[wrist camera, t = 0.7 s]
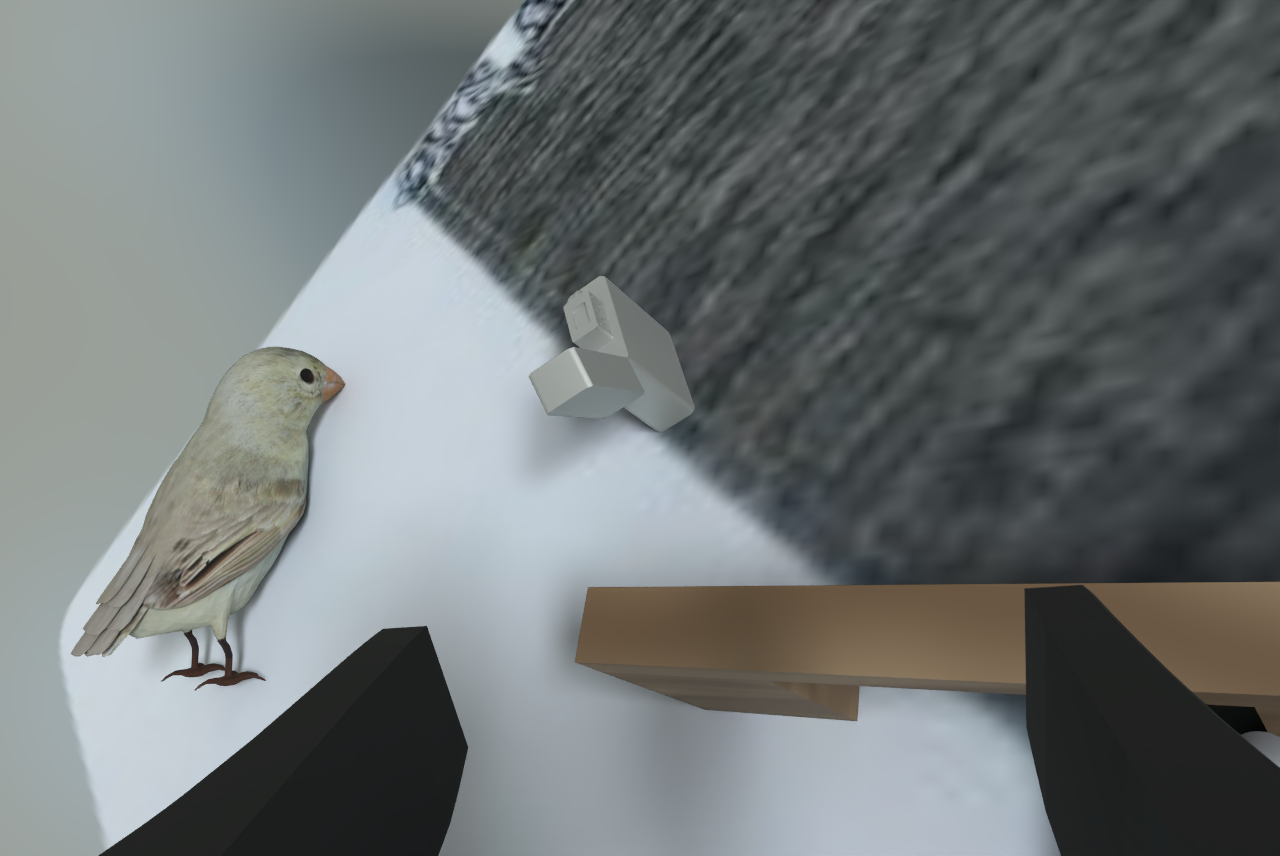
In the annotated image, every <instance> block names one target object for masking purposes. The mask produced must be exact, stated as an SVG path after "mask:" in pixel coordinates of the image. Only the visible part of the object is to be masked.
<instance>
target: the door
mask: <svg viewBox="0 0 1280 856" xmlns="http://www.w3.org/2000/svg"><path fill="white" fill-rule="evenodd" d="M1241 736H1242V737H1243V738H1245V739H1246V740H1247V741H1248V742H1249V743H1250V744H1252V745H1253V746H1254V747H1255V748H1256V749H1258V750H1259V751H1260V752H1261V753H1263V754H1264V755H1265V756H1266V757H1267V758H1269V759H1270V760H1271V761H1272V762H1274V763H1275V764H1276V765H1277V766H1278V767H1280V737H1278V736H1276V735H1274V734H1271V733H1267V732H1261V731H1253V732H1248V733H1244V734H1242V735H1241Z"/></svg>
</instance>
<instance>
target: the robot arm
mask: <svg viewBox="0 0 1280 856" xmlns="http://www.w3.org/2000/svg"><path fill="white" fill-rule="evenodd" d="M1024 594H1025V657H1026V721H1027V731H1028V736H1029V740H1030V745H1031V749H1032V754H1033V758H1034V763H1035V767H1036V772H1037V776H1038V780H1039V784H1040V789H1041V793H1042V797H1043V801H1044V805H1045V810H1046V813H1047V816H1048V819H1049V822H1050V825H1051V828H1052V831H1053V833H1054V836H1055V839H1056V842H1057V845H1058V848H1059V850H1060V853H1061V856H1280V767H1278V766H1277V765H1276V764H1275V763H1274V762H1272V761H1271V760H1270V759H1269V758H1267V757H1266V756H1265V755H1264V754H1263V753H1261V752H1260V751H1259V750H1258V749H1256V748H1255V747H1254V746H1253V745H1252V744H1250V743H1249V742H1248V741H1247V740H1246V739H1245V738H1243V737H1242V736H1241V735H1240V734H1239V733H1238V732H1236V731H1235V730H1234V729H1233V728H1232V727H1231V726H1229V725H1228V724H1227V723H1226V722H1225V721H1224V720H1223V719H1221V718H1220V717H1219V716H1218V715H1217V714H1216V713H1215V712H1214V711H1213V710H1212V709H1210V708H1209V707H1208V706H1207V705H1206V704H1205V703H1204V702H1203V701H1202V700H1201V699H1199V698H1198V697H1197V696H1196V695H1195V694H1194V693H1193V692H1192V691H1191V690H1190V689H1188V688H1187V687H1186V686H1185V685H1184V684H1183V683H1182V682H1181V681H1180V680H1179V679H1178V678H1177V677H1175V676H1174V675H1173V674H1172V673H1171V672H1170V671H1169V670H1168V669H1167V668H1166V667H1165V666H1164V665H1163V664H1162V663H1161V662H1160V661H1159V660H1158V659H1157V658H1156V657H1155V656H1154V655H1153V654H1152V653H1151V652H1150V651H1149V650H1148V649H1147V648H1146V647H1145V646H1144V645H1143V644H1142V643H1141V642H1140V641H1139V640H1138V639H1137V638H1136V637H1135V636H1134V635H1133V634H1132V633H1131V632H1130V631H1129V630H1128V629H1127V628H1126V627H1125V626H1124V625H1123V624H1122V623H1121V622H1120V621H1119V620H1118V619H1117V618H1116V617H1115V616H1114V615H1113V614H1112V613H1111V612H1110V611H1109V610H1108V609H1107V608H1106V606H1105V605H1104V604H1103V603H1102V602H1101V601H1100V600H1099V599H1098V598H1097V597H1096V596H1095V595H1094V594H1093V593H1092V592H1091V591H1090V590H1088V589H1087V588H1086V587H1085V586H1083V585H1071V586H1055V587H1039V588H1024ZM467 750H468V746H467V743H466V740H465V737H464V734H463V731H462V728H461V725H460V722H459V719H458V716H457V713H456V710H455V707H454V704H453V701H452V699H451V696H450V693H449V690H448V687H447V684H446V681H445V678H444V675H443V672H442V669H441V666H440V663H439V660H438V657H437V654H436V652H435V649H434V646H433V643H432V640H431V637H430V634H429V631H428V628H427V626H422V627H406V628H390V629H382V630H381V631H380V632H378V633H377V634H376V635H374V636H373V637H372V638H370V639H369V640H368V641H367V642H365V643H364V644H363V645H362V646H360V647H359V648H358V649H357V650H356V651H354V652H353V653H352V654H351V655H350V656H348V657H347V658H346V659H345V660H344V661H343V662H341V663H340V664H339V665H338V666H337V667H336V668H335V669H333V670H332V671H331V672H330V673H329V674H328V675H326V676H325V677H324V678H323V679H322V680H321V681H320V682H318V683H317V684H316V685H315V686H314V687H313V688H312V689H310V690H309V691H308V692H307V693H306V694H305V695H304V696H302V697H301V698H300V699H299V700H298V701H297V702H295V703H294V704H293V705H292V706H291V707H290V708H289V709H287V710H286V711H285V712H284V713H283V714H282V715H280V716H279V717H278V718H277V719H276V720H275V721H273V722H272V723H271V724H270V725H269V726H268V727H266V728H265V729H264V730H263V731H262V732H261V733H260V734H258V735H257V736H256V737H255V738H254V739H252V740H251V741H250V742H249V743H248V744H246V745H245V746H244V747H243V748H241V749H240V750H239V751H238V752H236V753H235V754H234V755H233V756H231V757H230V758H229V759H228V760H226V761H225V762H224V763H223V764H221V765H220V766H219V767H218V768H216V769H215V770H214V771H213V772H211V773H210V774H209V775H208V776H206V777H205V778H204V779H203V780H201V781H200V782H199V783H198V784H196V785H195V786H194V787H193V788H192V789H190V790H189V791H188V792H187V793H185V794H184V795H183V796H181V797H180V798H179V799H177V800H176V801H175V802H174V803H172V804H171V805H170V806H168V807H167V808H166V809H164V810H163V811H161V812H160V813H159V814H157V815H156V816H155V817H153V818H152V819H150V820H149V821H148V822H146V823H145V824H144V825H142V826H141V827H139V828H138V829H136V830H135V831H134V832H132V833H131V834H129V835H128V836H126V837H125V838H123V839H122V840H121V841H119V842H118V843H116V844H115V845H113V846H112V847H110V848H109V849H107V850H106V851H105V852H103V853H102V854H100V855H99V856H438V855H439V852H440V849H441V847H442V844H443V841H444V839H445V836H446V833H447V830H448V828H449V825H450V822H451V818H452V814H453V810H454V806H455V802H456V798H457V794H458V791H459V786H460V782H461V777H462V773H463V768H464V764H465V759H466V755H467Z"/></svg>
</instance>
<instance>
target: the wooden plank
mask: <svg viewBox="0 0 1280 856" xmlns="http://www.w3.org/2000/svg"><path fill="white" fill-rule="evenodd" d="M1071 585H1083V586H1085V587H1086V588H1087V589H1088V590H1090V591H1091V592H1092V593H1093V594H1094V595H1095V596H1096V597H1097V598H1098V599H1099V600H1100V601H1101V602H1102V603H1103V604H1104V605H1105V606H1106V608H1107V609H1108V610H1109V611H1110V612H1111V613H1112V614H1113V615H1114V616H1115V617H1116V618H1117V619H1118V620H1119V621H1120V622H1121V623H1122V624H1123V625H1124V626H1125V627H1126V628H1127V629H1128V630H1129V631H1130V632H1131V633H1132V634H1133V635H1134V636H1135V637H1136V638H1137V639H1138V640H1139V641H1140V642H1141V643H1142V644H1143V645H1144V646H1145V647H1146V648H1147V649H1148V650H1149V651H1150V652H1151V653H1152V654H1153V655H1154V656H1155V657H1156V658H1157V659H1158V660H1159V661H1160V662H1161V663H1162V664H1163V665H1164V666H1165V667H1166V668H1167V669H1168V670H1169V671H1170V672H1171V673H1172V674H1173V675H1174V676H1175V677H1177V678H1178V679H1179V680H1180V681H1181V682H1182V683H1183V684H1184V685H1185V686H1186V687H1187V688H1188V689H1190V690H1191V691H1192V692H1193V693H1194V694H1195V695H1196V696H1197V697H1198V698H1199V699H1201V700H1202V701H1203V702H1204V703H1205V704H1207V705H1226V706H1244V707H1255V709H1256V711H1257V713H1258V715H1259V716H1260V718H1261V720H1262V722H1263V724H1264V726H1265V728H1266V730H1267V732H1268V733H1271V734H1274V735H1276V736H1278V737H1280V582H1205V583H1077V584H950V585H823V586H696V587H588V591H587V596H586V602H585V608H584V613H583V619H582V625H581V630H580V636H579V642H578V647H577V653H576V659H575V662H576V663H579V664H581V665H584V666H587V667H590V668H592V669H595V670H598V671H601V672H603V673H606V674H609V675H612V676H614V677H617V678H620V679H623V680H625V681H628V682H631V683H634V684H636V685H639V686H642V687H645V688H647V689H650V690H653V691H656V692H658V693H661V694H664V695H667V696H669V697H672V698H675V699H678V700H680V701H683V702H686V703H688V704H691V705H694V706H697V707H699V708H702V709H705V710H717V711H730V712H744V713H757V714H770V715H783V716H797V717H810V718H823V719H836V720H850V721H857V715H858V700H859V686H872V687H891V688H909V689H928V690H947V691H965V692H984V693H1002V694H1021V695H1026V657H1025V594H1024V588H1039V587H1055V586H1071Z"/></svg>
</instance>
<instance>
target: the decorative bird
mask: <svg viewBox="0 0 1280 856" xmlns="http://www.w3.org/2000/svg"><path fill="white" fill-rule="evenodd" d="M342 383H343V384H342ZM344 386H345V383H344V381H343V380H342V379H341V377H340V376H339V375H338V374H337V373H336V372H334V371H333V370H332V369H330V368H328V367H327V366H325V365H324V364H323V363H322V362H321V361H320V360H318V359H317V358H315V357H314V356H312V355H310V354H308V353H305V352H303V351H299V350H295V349H291V348H283V347H267V348H262V349H258V350H255V351H253V352H250V353H248V354H246V355H244V356H243V357H242V358H241V359H239V360H238V361H237V362H236V363H235V364H234V365H233V366H232V367H231V368H230V369H229V370H228V371H227V372H226V373H225V375H224V376H223V377H222V379H221V381H220V382H219V384H218V385H217V387H216V389H215V392H214V394H213V396H212V398H211V401H210V403H209V406H208V408H207V411H206V414H205V417H204V420H203V422H202V423H201V425H200V427H199V428H198V430H197V431H196V432H195V434H194V435H193V437H192V438H191V439H190V441H189V442H188V444H187V445H186V447H185V448H184V450H183V451H182V453H181V454H180V456H179V457H178V459H177V460H176V461H175V462H174V464H173V465H172V467H171V468H170V470H169V472H168V473H167V475H166V476H165V478H164V480H163V481H162V483H161V485H160V487H159V489H158V491H157V493H156V495H155V497H154V499H153V501H152V504H151V506H150V508H149V510H148V512H147V514H146V518H145V521H144V525H143V528H142V530H141V532H140V534H139V536H138V537H137V539H136V541H135V543H134V546H133V548H132V550H131V552H130V554H129V556H128V558H127V559H126V561H125V562H124V564H123V565H122V566H121V568H120V569H119V571H118V572H117V574H116V575H115V576H114V578H113V579H112V581H111V582H110V583H109V585H108V586H107V588H106V589H105V590H104V592H103V593H102V595H101V596H100V598H99V599H98V601H97V602H96V604H99V603H101V604H100V605H99V607H98V608H97V610H96V611H95V612H94V614H93V615H92V616H91V618H90V619H89V621H88V622H87V623H86V625H85V626H84V628H83V629H84V630H85V633H84V634H83V636H82V637H81V639H80V640H79V641H78V643H77V644H76V646H75V647H74V649H73V650H72V652H71V654H72V655H74V656H81V655H83V654H85V655H86V656H91V655H94V654H95V655H99V654H101V653H102V657H106V656H108V655H111V654H112V653H113V652H114V650H115V649H116V648H117V647H118V646H119V645H120V644H121V642H122V641H123V640H124V639H125V638H126V637H127V636H128V634H129V635H131V636H133V637H135V638H137V639H138V638H143V637H148V636H154V635H159V634H164V633H170V632H176V631H183V632H184V635H185V636H186V637H187V639H188V640H189V642H190V644H191V647H192V665H191V668H189V669H184V670H177V671H174V672H172V673H171V674H169V675H167V676H166V677H165V678H164V679H163V680H162V681H164V680H165V679H167V678H169V677H170V676H172V675H183V676H185V677H199V676H202V675H204V674H206V673H208V672H211V671H215V670H224V671H225V676H223V677H220V678H213V679H208V680H207V681H205V682H203V683H202V684H200V685H199V686H198V687H197V688H196V689H195V690H197V689H198V688H200V687H201V686H203V685H205V684H217V685H220V686H229V685H235V684H237V683H239V682H241V681H243V680H246V679H250V678H257V679H261V680H264V681H266V680H265V679H263V678H262V677H260V676H258V674H256V673H253V672H248V671H246V672H241V673H237V672H236V671H232V656H233V655H232V651H231V648H230V645H229V644H228V643H227V641H226V632H227V623H228V617H229V615H231V614H233V613H235V612H236V611H238V610H240V609H241V608H243V607H244V606H245V605H246V604H247V603H248V601H249V600H250V598H251V597H252V595H253V594H254V592H255V591H256V589H257V587H258V585H259V584H260V582H261V581H262V579H263V578H264V576H265V575H266V573H267V572H268V571H269V569H270V568H271V567H272V565H273V563H274V562H275V560H276V558H277V556H278V555H279V553H280V551H281V549H282V547H283V545H284V543H285V540H286V538H287V536H288V535H289V533H290V531H291V530H292V529H293V528H294V527H295V526H296V524H297V523H298V521H299V520H300V518H301V517H302V515H303V514H304V510H305V506H306V490H307V472H308V461H309V457H308V439H307V434H306V430H307V428H308V426H309V423H310V421H311V419H312V417H313V415H314V413H315V412H316V410H317V409H318V408H319V407H320V406H321V405H322V404H323V403H324V402H326V401H327V400H328V399H330V398H331V397H332V396H333V395H335V394H336V393H337V392H338V391H339V390H341V389H342V388H343V387H344ZM205 626H212V628H213V631H214V635H215V637H216V639H218V642H219V644H220V645H221V646H222V648H223V650H224V653H225V658H226V664H225V668H224V666H222V665H218V664H214V663H213V664H208V665H204V664H202V663H198V654H199V647H198V643H197V639H196V638H195V637H194V635H193V634H192V629H197V628H201V627H205Z"/></svg>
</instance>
